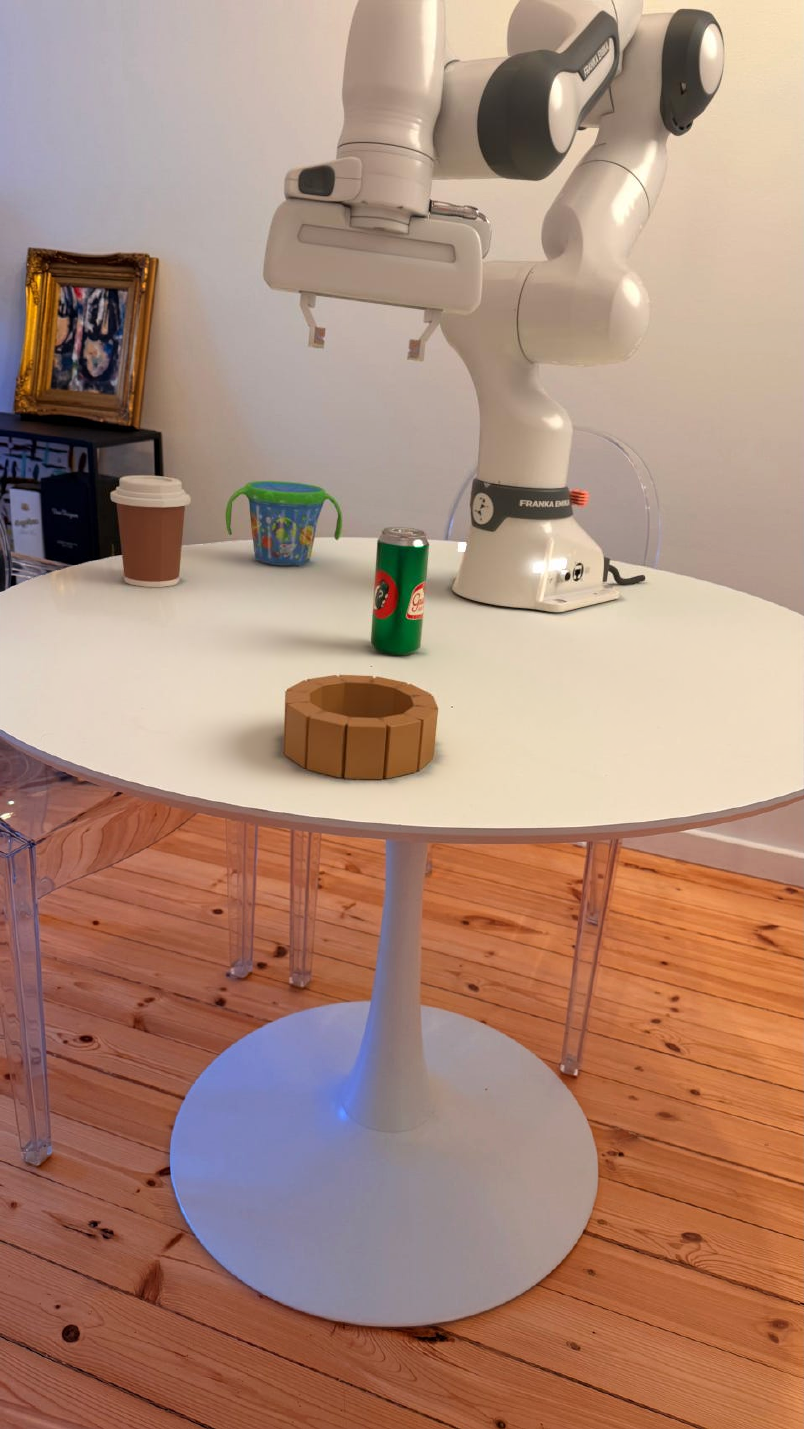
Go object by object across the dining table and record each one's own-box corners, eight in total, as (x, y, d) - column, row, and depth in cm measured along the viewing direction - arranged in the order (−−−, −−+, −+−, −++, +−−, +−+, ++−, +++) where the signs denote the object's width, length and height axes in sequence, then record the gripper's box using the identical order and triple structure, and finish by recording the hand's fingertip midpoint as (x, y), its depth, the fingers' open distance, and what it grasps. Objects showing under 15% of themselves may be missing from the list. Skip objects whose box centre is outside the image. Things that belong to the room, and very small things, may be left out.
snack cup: (338, 556, 141) (342, 484, 138) (341, 573, 131) (346, 495, 128) (227, 550, 139) (228, 477, 136) (222, 566, 129) (223, 488, 126)
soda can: (415, 659, 97) (425, 537, 93) (365, 653, 98) (372, 532, 94) (424, 646, 102) (434, 529, 98) (376, 640, 103) (384, 524, 98)
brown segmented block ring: (376, 713, 82) (379, 668, 81) (462, 762, 74) (467, 711, 72) (256, 735, 76) (257, 686, 74) (335, 791, 67) (338, 736, 66)
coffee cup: (97, 583, 116) (94, 479, 112) (135, 569, 124) (133, 471, 120) (169, 593, 114) (169, 488, 110) (202, 578, 123) (203, 479, 119)
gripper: (489, 216, 94) (469, 369, 98) (272, 184, 92) (261, 342, 96) (500, 202, 88) (478, 366, 92) (268, 168, 86) (256, 338, 90)
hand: (365, 354), depth 94 cm, fingers open, 8 cm apart
